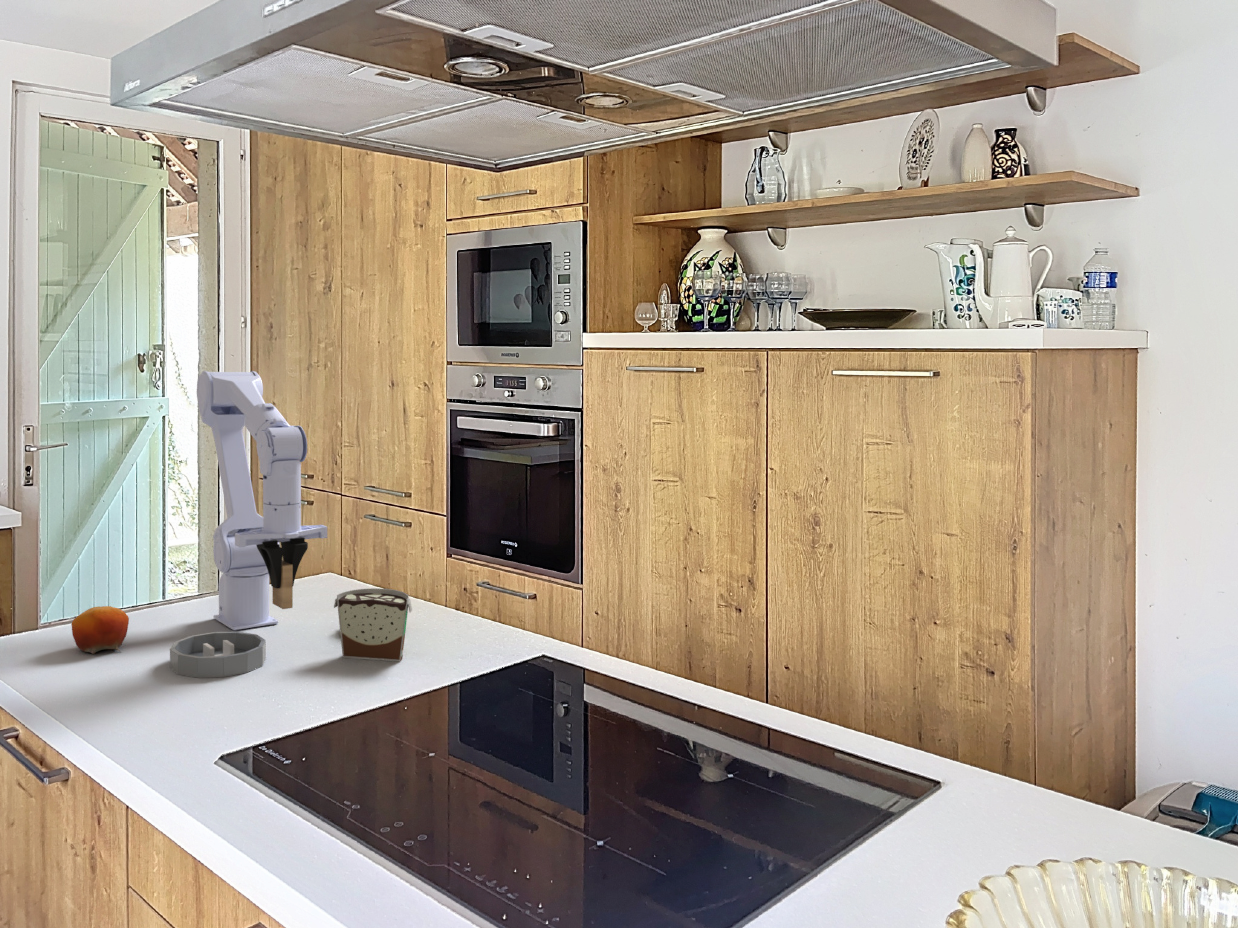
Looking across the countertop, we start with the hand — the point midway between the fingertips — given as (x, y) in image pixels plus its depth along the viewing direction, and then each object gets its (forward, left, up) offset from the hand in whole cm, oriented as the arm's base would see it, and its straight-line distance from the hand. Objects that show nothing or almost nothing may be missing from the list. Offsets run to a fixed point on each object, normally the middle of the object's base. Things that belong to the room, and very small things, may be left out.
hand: (282, 586), depth 168 cm
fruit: (-14, -23, -10) cm, 29 cm away
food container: (+12, +11, -10) cm, 19 cm away
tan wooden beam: (0, 0, -3) cm, 3 cm away
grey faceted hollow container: (+3, -11, -10) cm, 15 cm away
